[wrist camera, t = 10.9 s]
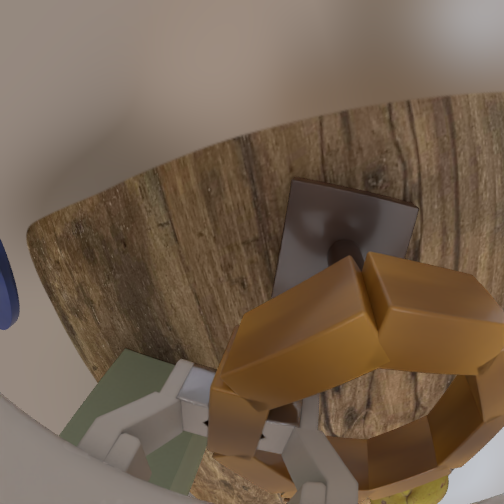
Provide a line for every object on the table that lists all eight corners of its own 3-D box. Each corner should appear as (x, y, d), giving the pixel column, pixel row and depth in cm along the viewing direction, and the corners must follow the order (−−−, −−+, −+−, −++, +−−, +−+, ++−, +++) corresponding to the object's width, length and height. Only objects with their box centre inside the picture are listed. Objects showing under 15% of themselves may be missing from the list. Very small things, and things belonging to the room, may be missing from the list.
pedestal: (137, 403, 35) (84, 491, 21) (125, 348, 31) (47, 451, 16) (212, 428, 34) (173, 531, 19) (216, 376, 29) (161, 509, 15)
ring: (221, 433, 12) (204, 481, 10) (248, 225, 8) (217, 271, 5) (415, 455, 11) (421, 498, 8) (531, 289, 7) (572, 333, 4)
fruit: (434, 467, 32) (441, 515, 23) (368, 481, 35) (367, 531, 26) (448, 436, 28) (460, 493, 19) (369, 454, 31) (370, 515, 22)
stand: (273, 288, 24) (253, 360, 16) (293, 176, 20) (281, 203, 12) (379, 308, 23) (399, 382, 15) (413, 203, 19) (464, 245, 11)
